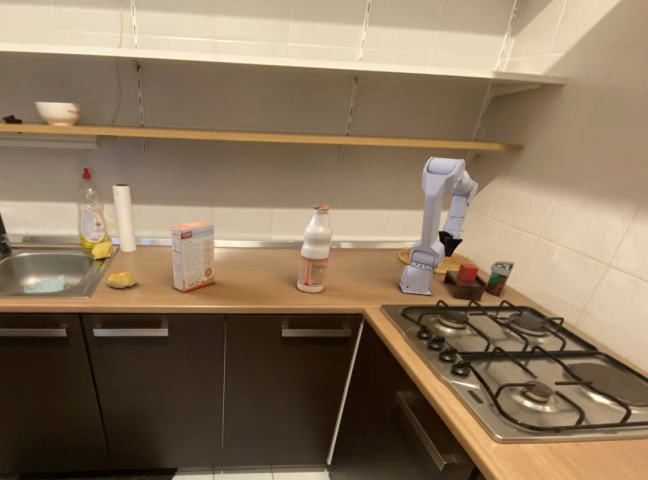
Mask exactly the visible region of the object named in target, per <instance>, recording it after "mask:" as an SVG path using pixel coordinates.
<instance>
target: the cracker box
mask: <svg viewBox="0 0 648 480" xmlns="http://www.w3.org/2000/svg"><path fill="white" fill-rule="evenodd" d="M170 239H171V241H170V242H171V255H172V256H171V257H172V272H173V273H172V274H173V288H174V289H175V290H178V291H181V292H183V293H186V292H189V291H192V290H195V289H198V288H201V287H204V286H208V285H211V284H214V283H215V223H214V222H213V223H212V222H209V221H207V220H201V221H195V222H194V221H193V222H190V223H183V224H178V225H173V226H170Z"/></svg>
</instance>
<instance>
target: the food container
mask: <svg viewBox="0 0 648 480" xmlns="http://www.w3.org/2000/svg"><path fill="white" fill-rule="evenodd" d="M514 266H515V262H513V261H506V260H505V261H504V260H503V261H499V260H498V261H495V262H494V263H492V265H491V266H490V270H491V272H490V275H489V277H488V278H489V279H488V282H487V285H486V287H485V291H486V292H487V293H488V294H490V295H492V296H496V297H500V296H501V294H502V293H503V292H504V289H505V288H506V284H507V282H508V280H509V277H510V275H511V272H512V270H513V268H514Z"/></svg>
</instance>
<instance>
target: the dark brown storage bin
mask: <svg viewBox="0 0 648 480" xmlns="http://www.w3.org/2000/svg"><path fill="white" fill-rule="evenodd" d="M458 271H459V270H452V269H451V270H450V269H446V272H445V275H444V278H443V281H442V283H443V284H447V285H456V286H457V289H456V291H455V295H454V298H455V299H458V300H467V301H476V302H477V301H478V302H480V301H481V300H482V297H483V295H484V292H485V291H486V288H487V285H488V282H487V281H485V279H483V277H481V276H480V275H479V274H478V273H477V275H476V278H475V280H474V281H471V280H461V279H460V278H459V277H458V276H457V274H458Z"/></svg>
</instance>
